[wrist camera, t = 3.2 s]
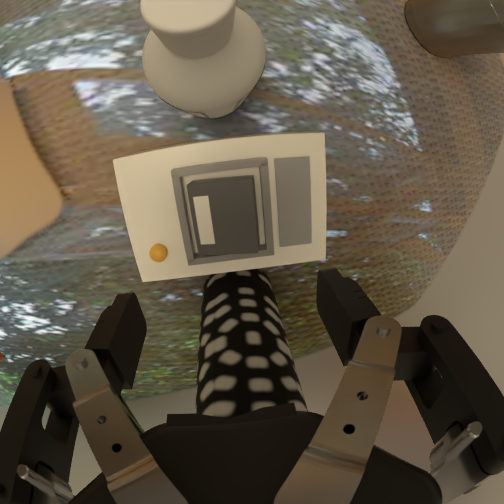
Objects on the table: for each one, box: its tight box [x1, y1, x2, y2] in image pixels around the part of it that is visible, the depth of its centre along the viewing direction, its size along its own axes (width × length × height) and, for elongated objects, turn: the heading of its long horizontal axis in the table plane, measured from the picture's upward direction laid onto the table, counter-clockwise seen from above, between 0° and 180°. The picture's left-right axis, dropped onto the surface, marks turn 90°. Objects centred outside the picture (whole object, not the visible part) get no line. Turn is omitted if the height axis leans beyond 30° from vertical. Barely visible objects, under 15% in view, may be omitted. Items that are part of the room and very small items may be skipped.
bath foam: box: [140, 0, 266, 118], centre depth 14 cm, size 7×7×20 cm
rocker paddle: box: [187, 175, 260, 255], centre depth 22 cm, size 5×6×2 cm
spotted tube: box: [195, 268, 308, 418], centre depth 24 cm, size 8×8×20 cm
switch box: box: [113, 131, 326, 282], centre depth 25 cm, size 18×12×6 cm, turn 95°
